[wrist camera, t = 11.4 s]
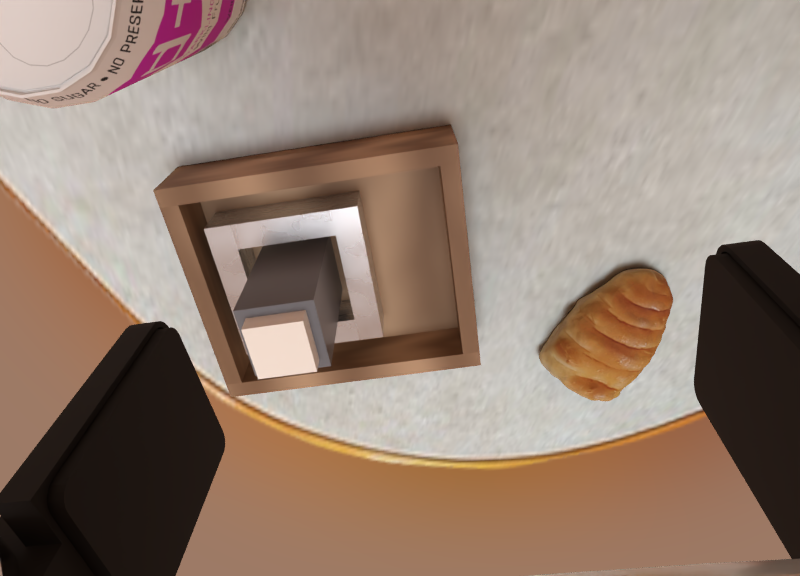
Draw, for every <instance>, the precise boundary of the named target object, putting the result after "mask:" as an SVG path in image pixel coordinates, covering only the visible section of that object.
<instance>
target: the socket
mask: <svg viewBox="0 0 800 576" xmlns="http://www.w3.org/2000/svg"><path fill="white" fill-rule="evenodd" d="M204 231H205V234H206V237H207V240H208V243H209V246H210V249H211V252H212V255H213V258H214V261H215V264H216V266H217V269H218V272H219V275H220V278H221V281H222V284H223V287H224V290H225V293H226V296H227V298H228V301H229V304H230V307H231V310H232V313H233V310H234V308H235V305H236V303H237V301H238V299H239V297H240V295H241V292H242V290H243V288H244V286H245V284H246V281H247V279H248V277H249V275H250V273H251V270H252V268H253V266H254V264H255V262H256V258H255V255H254V251H253V248H252V247H259V246H266V245H273V244H279V243H286V242H293V241H300V240H307V239H314V238H321V237H328V236H335V235H336V239H337V244H338V248H339V252H340V257H341V261H342V266H343V270H344V275H345V279H346V284H347V288H348V293H349V297H350V300H344V301H341V304H340V310H339V317H338V324H337V330H336V337H335V343H340V342H348V341H356V340H363V339H371V338H378V337H383V326H384V314H383V309H382V304H381V298H380V293H379V288H378V283H377V278H376V273H375V268H374V262H373V257H372V252H371V247H370V242H369V237H368V232H367V226H366V221H365V216H364V211H363V206H362V201H361V196H360V191H353V192H347V193H340V194H333V195H326V196H320V197H313V198H306V199H300V200H293V201H286V202H279V203H273V204H266V205H259V206H253V207H246V208H239V209H232V210H226V211H219V212H215V214H214V215H213V216H212V218H211V219H210V221H209V222H208V224H207V225H206V226H205V228H204ZM233 316H234V313H233ZM234 319H235V316H234ZM235 322H236V319H235ZM236 325H237V328H238V331H239V333H240V330H239V327H238V324H237V322H236ZM240 336H241V333H240ZM241 339H242V336H241ZM242 342H243V339H242ZM243 345H244V342H243ZM244 348H245V345H244ZM245 351H246V354H247V355H248V353H247V350H246V348H245Z"/></svg>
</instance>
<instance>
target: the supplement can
mask: <svg viewBox="0 0 800 576" xmlns="http://www.w3.org/2000/svg"><path fill="white" fill-rule="evenodd" d="M244 4H245V0H0V96H1V97H3V98H5V99H7V100H12V101H17V102H22V103H27V104H33V105H38V106H43V107H48V108H59V107H65V106H71V105H78V104H84V103H90V102H95V101H97V100H99V99H102V98H104V97H106V96H108V95H110V94H112V93H114V92H117V91H119V90H121V89H123V88H125V87H127V86H129V85H131V84H134V83H136V82H138V81H140V80H142V79H144V78H146V77H148V76H151V75H153V74H155V73H157V72H159V71H161V70H163V69H166V68H168V67H170V66H172V65H174V64H176V63H178V62H180V61H183V60H185V59H187V58H189V57H191V56H193V55H195V54H197V53H200V52H202V51H204V50H206V49H207V48H209V47H210V46H212V45H213V44H215V43H216V42H218V41H220V40H221V39H223V38H224V37H226V36H227V35H228V33H229V32H230V30H231V29H232V27H233V26H234V25H235V23H236V22H237V20H238V19H239V17H240V16H241V14H242V13H243V8H244Z"/></svg>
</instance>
